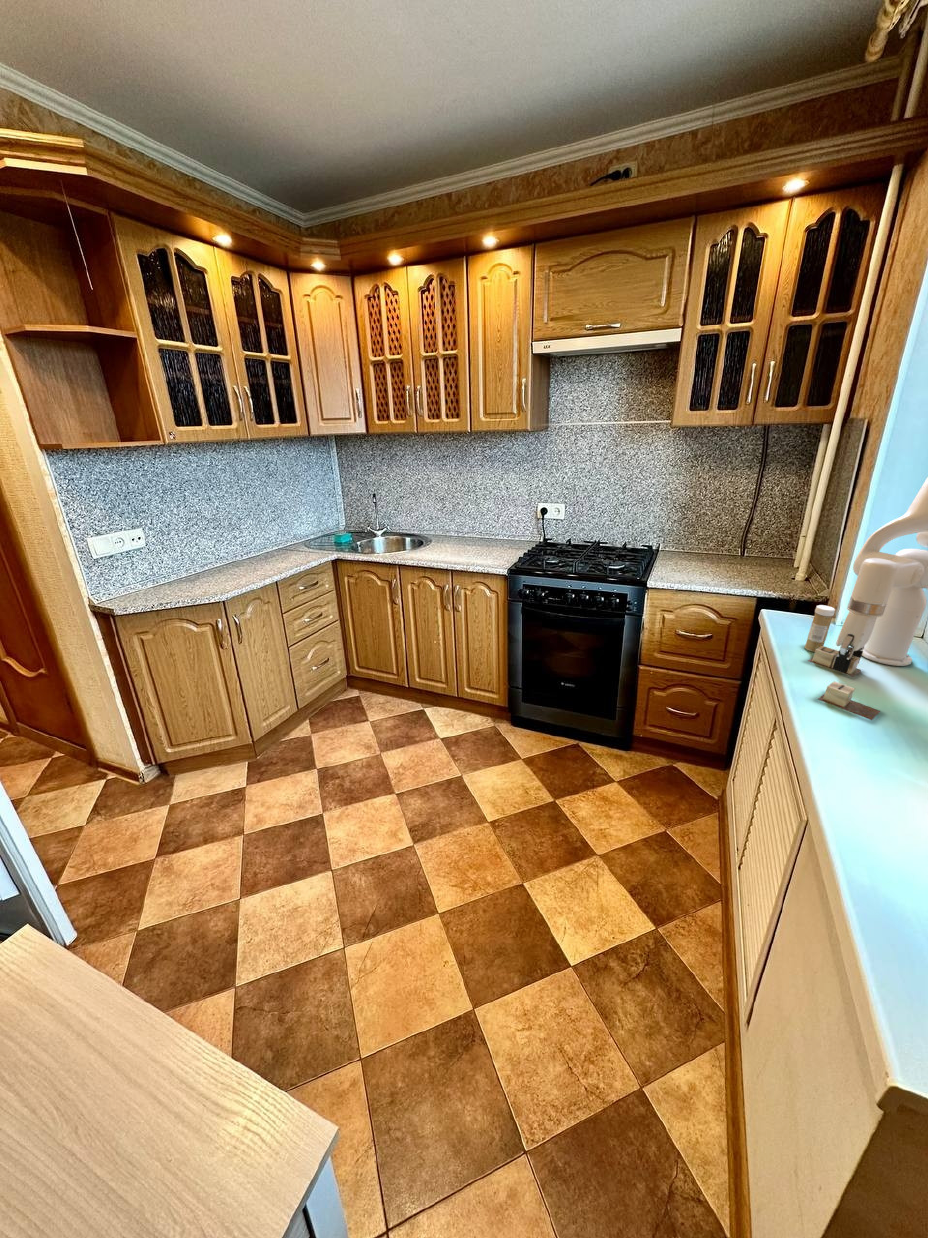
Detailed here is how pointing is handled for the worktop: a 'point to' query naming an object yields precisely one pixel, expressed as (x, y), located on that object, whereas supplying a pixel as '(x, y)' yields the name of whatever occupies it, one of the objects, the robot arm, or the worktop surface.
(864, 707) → the near stepped slab
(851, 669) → the small square block
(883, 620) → the robot arm
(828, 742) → the worktop surface
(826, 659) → the beige narrow stepped slab
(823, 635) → the sprinkles bottle
